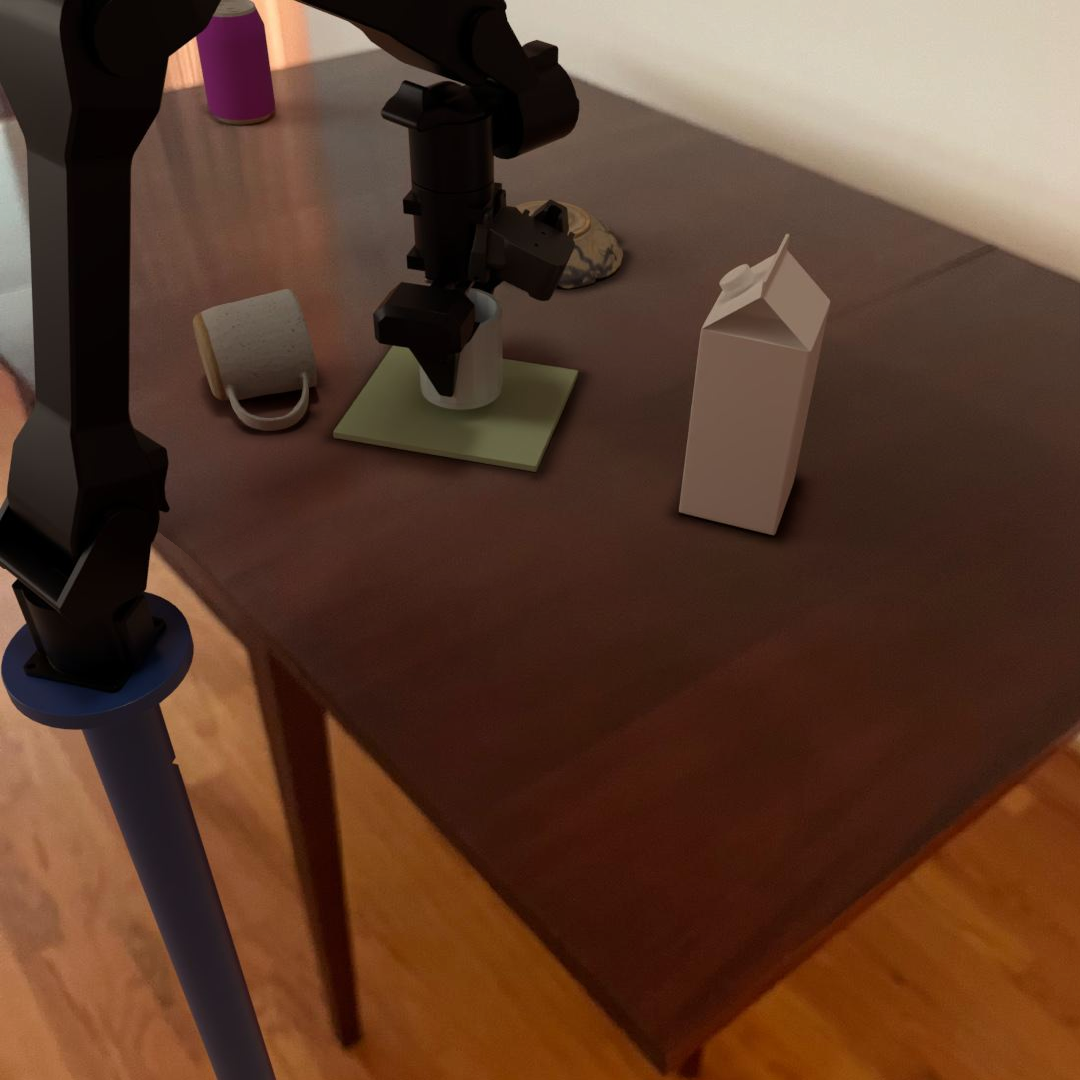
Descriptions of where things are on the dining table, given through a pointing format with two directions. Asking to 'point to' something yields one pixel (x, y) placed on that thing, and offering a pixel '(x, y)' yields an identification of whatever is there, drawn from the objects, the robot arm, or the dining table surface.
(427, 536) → the dining table surface
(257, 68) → the beverage can
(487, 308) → the container
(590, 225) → the decorative bowl
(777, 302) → the milk carton
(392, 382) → the mat
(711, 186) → the dining table surface
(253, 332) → the ceramic mug
